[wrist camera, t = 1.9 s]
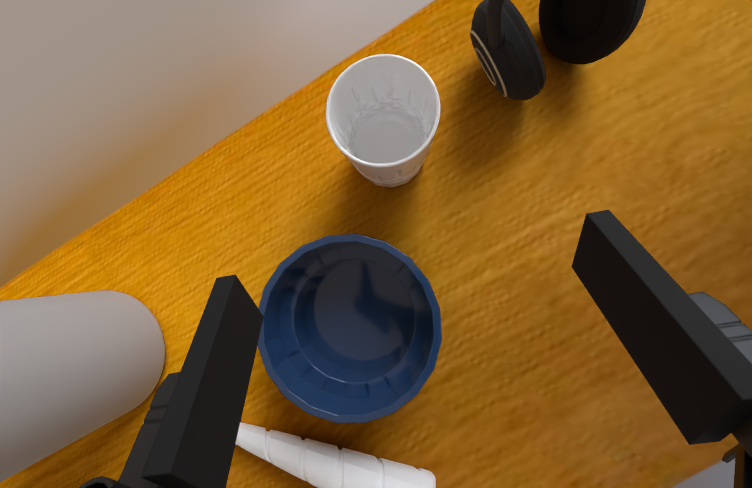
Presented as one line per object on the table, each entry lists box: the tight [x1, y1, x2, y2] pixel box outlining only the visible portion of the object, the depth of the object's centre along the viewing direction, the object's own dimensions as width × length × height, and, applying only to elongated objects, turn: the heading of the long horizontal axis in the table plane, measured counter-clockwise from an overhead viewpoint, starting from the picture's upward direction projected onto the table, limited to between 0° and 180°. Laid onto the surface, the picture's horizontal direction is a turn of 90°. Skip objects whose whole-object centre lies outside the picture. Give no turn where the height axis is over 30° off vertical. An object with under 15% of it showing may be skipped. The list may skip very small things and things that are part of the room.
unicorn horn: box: [235, 422, 436, 488], centre depth 31 cm, size 5×24×5 cm, turn 72°
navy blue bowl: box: [258, 234, 442, 423], centre depth 30 cm, size 14×14×7 cm
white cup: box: [326, 54, 440, 188], centre depth 29 cm, size 8×8×10 cm
